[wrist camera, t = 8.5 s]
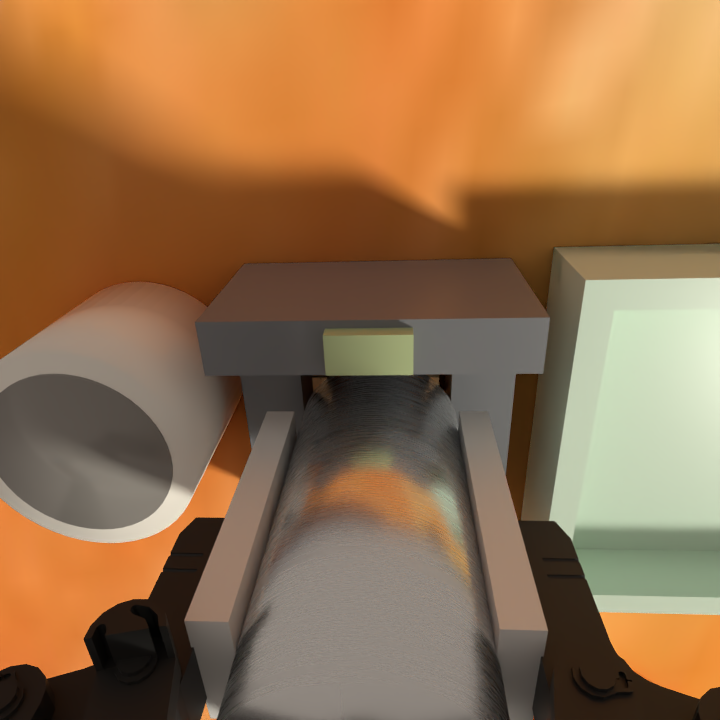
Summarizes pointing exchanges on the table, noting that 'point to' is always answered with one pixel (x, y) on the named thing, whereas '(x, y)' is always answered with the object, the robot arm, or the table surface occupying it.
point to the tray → (633, 423)
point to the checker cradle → (376, 331)
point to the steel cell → (370, 570)
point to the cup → (111, 415)
